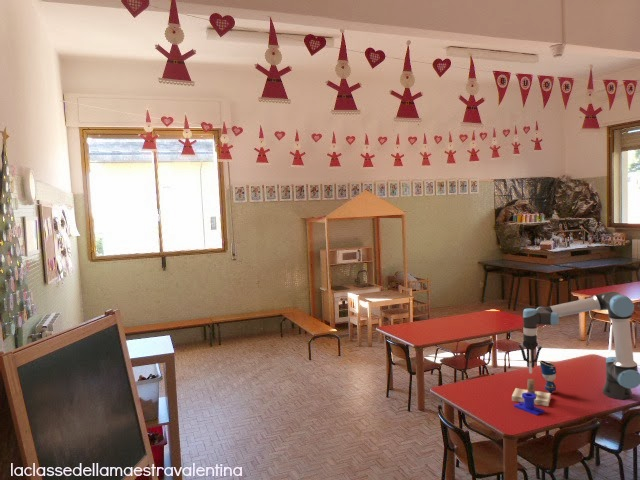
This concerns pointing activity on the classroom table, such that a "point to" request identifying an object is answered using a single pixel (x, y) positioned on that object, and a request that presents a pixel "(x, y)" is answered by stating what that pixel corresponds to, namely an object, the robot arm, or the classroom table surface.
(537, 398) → the board
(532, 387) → the peg
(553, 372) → the blue tall vessel
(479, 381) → the classroom table surface
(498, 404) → the classroom table surface
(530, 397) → the mount
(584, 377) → the classroom table surface
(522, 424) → the classroom table surface
